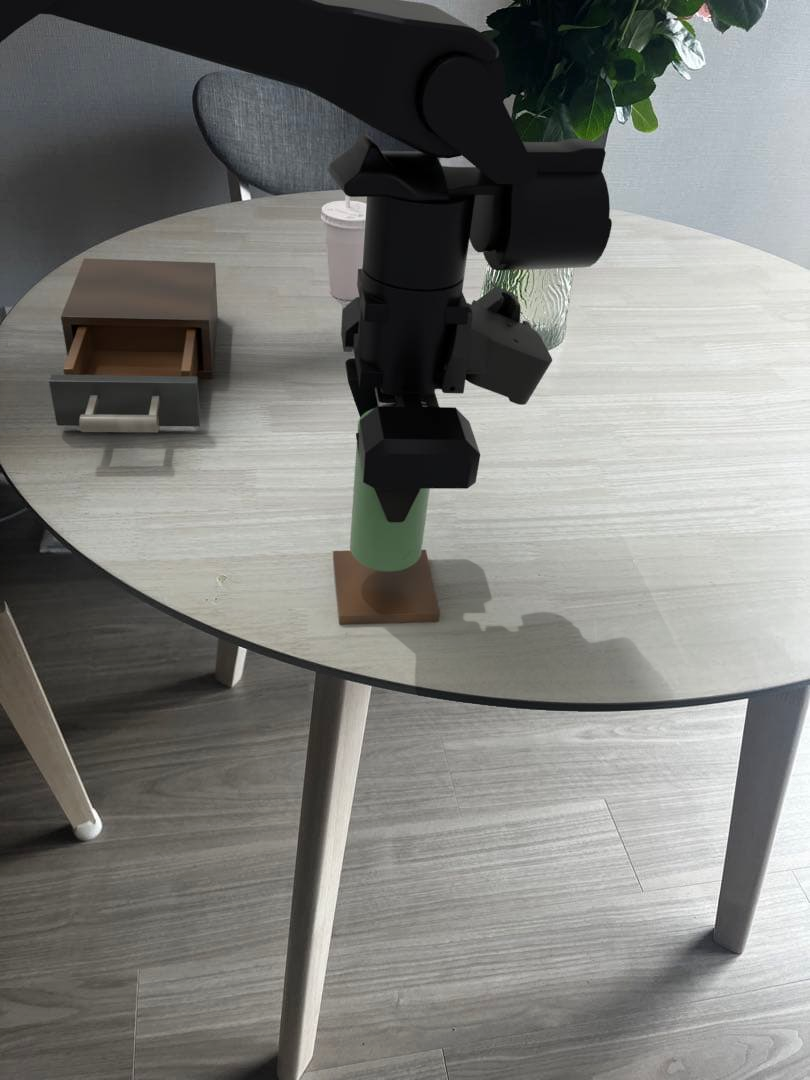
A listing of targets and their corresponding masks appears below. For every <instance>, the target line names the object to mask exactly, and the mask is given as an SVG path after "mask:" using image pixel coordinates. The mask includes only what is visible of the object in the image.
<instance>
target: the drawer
mask: <svg viewBox="0 0 810 1080" xmlns="http://www.w3.org/2000/svg"><path fill="white" fill-rule="evenodd" d="M198 362H199V345H198V330H197V327H153V326H109V325H79V326H78V329H77V332H76V335H75V337H74V340H73V343H72V346H71V349H70V351H69V354H68V357H66V360H65V363H64V366H63V368H62V371H63V374H61V373H60V374H54V373H53V374H50V377H49V379H48V384H49V389H50V390H49V391H50V395H51V401H52V406H53V413H54V417H55V423H56V426H59V427H61V426H63V427H66V426H69V427H71V426H73V427H74V426H75V427H76V426H77V427H78V426H79V430H80V432H81V433H159V430H160V427H200V426H201V407H200V392H199V378H198V377H197V370H198Z"/></svg>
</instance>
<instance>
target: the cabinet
mask: <svg viewBox="0 0 810 1080" xmlns="http://www.w3.org/2000/svg"><path fill="white" fill-rule="evenodd" d="M217 294H218V292H217V272H216V262H205V261H204V262H201V261H173V260H144V259H142V260H141V259H114V258H113V259H112V258H87V257H85V258H83V260H82V262H81V265H80V267H79V269H78V272H77V275H76V277H75V280H74V283H73V285H72V287H71V289H70V293H69V295H68V297H67V300H66V301H65V305H64V307H63V309H62V313H61V315H60V320H61V321H60V322H61V325H62V332H63V338H64V339H63V340H64V344H65V350H66V355H67V357H68V354H69V351H70V349H71V346H72V343H73V340H74V337H75V335H76V332H77V329H78V326H79V325H109V326H153V327H197V330H198V345H199V362H198V370H197V377H198V379H209V380H210V379H213V377H214V365H215V364H214V363H215V353H216V344H217V332H218V331H217V330H218V321H219V320H218V319H219V312H218V295H217ZM67 357H66V358H67Z"/></svg>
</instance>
